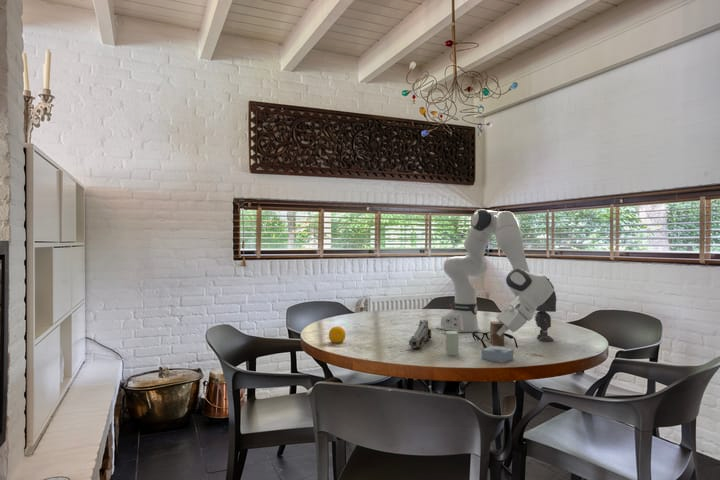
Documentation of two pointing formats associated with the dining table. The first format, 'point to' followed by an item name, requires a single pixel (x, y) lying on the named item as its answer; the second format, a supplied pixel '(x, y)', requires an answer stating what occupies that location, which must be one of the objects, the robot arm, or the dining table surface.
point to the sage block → (451, 342)
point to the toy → (420, 335)
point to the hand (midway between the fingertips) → (495, 332)
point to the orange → (337, 335)
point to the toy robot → (545, 318)
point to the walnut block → (494, 337)
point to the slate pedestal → (497, 354)
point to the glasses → (489, 339)
